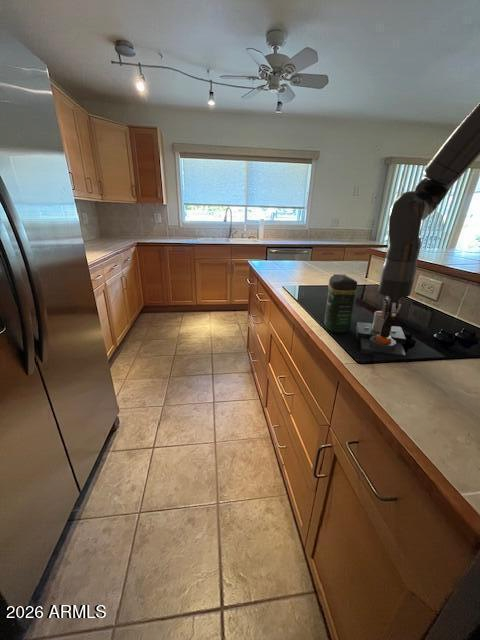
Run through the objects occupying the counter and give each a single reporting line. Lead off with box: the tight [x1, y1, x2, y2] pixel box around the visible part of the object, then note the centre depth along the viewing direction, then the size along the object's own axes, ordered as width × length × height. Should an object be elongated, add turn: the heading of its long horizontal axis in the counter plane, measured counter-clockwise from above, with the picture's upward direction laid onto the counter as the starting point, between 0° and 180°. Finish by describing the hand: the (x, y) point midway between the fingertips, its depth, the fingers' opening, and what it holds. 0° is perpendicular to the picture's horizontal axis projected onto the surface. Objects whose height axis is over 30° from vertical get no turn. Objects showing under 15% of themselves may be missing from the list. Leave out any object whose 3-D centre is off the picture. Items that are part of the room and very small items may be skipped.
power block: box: [359, 335, 407, 357], centre depth 76 cm, size 11×7×4 cm, turn 69°
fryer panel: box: [355, 321, 407, 345], centre depth 83 cm, size 13×9×3 cm
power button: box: [376, 334, 391, 344], centre depth 75 cm, size 4×4×2 cm
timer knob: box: [372, 310, 382, 333], centre depth 81 cm, size 5×5×6 cm
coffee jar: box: [323, 273, 358, 334], centre depth 88 cm, size 10×8×19 cm
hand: (384, 335), depth 75 cm, fingers closed
